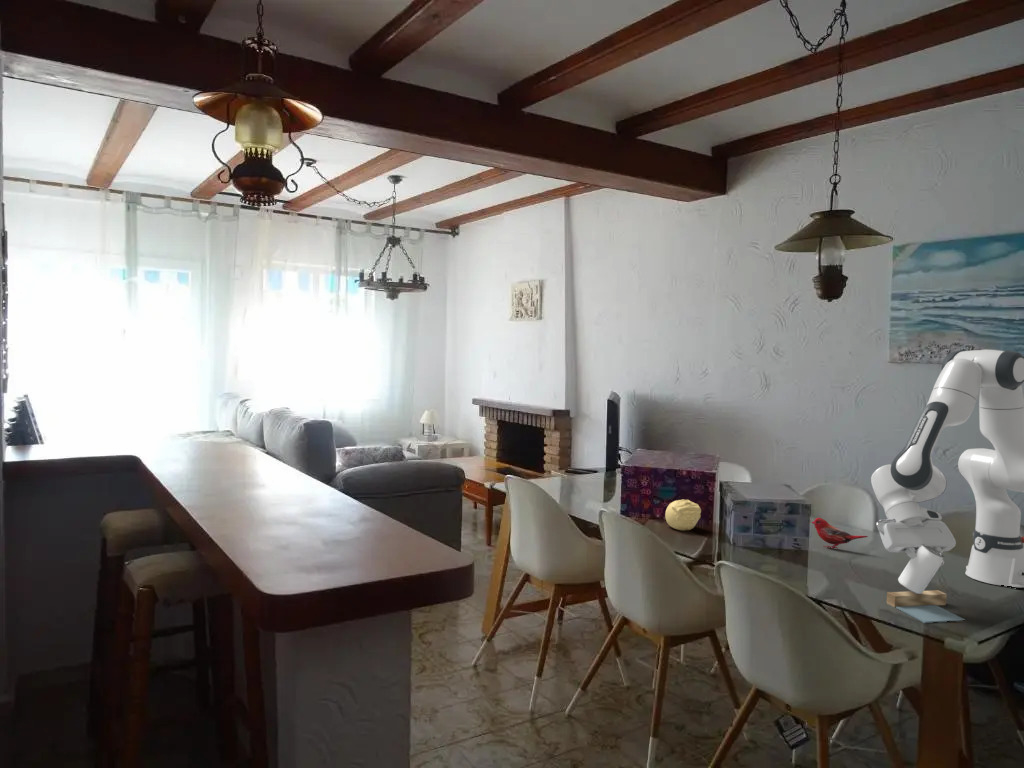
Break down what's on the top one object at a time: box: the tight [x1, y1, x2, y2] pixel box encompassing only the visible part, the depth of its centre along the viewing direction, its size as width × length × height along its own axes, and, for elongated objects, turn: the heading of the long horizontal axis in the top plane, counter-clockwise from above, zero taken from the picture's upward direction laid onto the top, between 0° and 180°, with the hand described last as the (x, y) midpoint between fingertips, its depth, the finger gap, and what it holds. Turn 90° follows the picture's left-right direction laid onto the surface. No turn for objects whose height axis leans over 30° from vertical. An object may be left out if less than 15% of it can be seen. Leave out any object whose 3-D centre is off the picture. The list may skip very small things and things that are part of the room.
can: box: [897, 544, 945, 594], centre depth 192 cm, size 6×6×12 cm
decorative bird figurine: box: [811, 517, 868, 549], centre depth 243 cm, size 3×18×10 cm, turn 59°
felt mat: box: [895, 605, 966, 624], centre depth 187 cm, size 12×10×1 cm
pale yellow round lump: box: [664, 499, 702, 531], centre depth 263 cm, size 12×12×11 cm
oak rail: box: [886, 589, 947, 608], centre depth 194 cm, size 16×3×3 cm, turn 102°
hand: (931, 565), depth 191 cm, fingers closed on can, 4 cm apart
